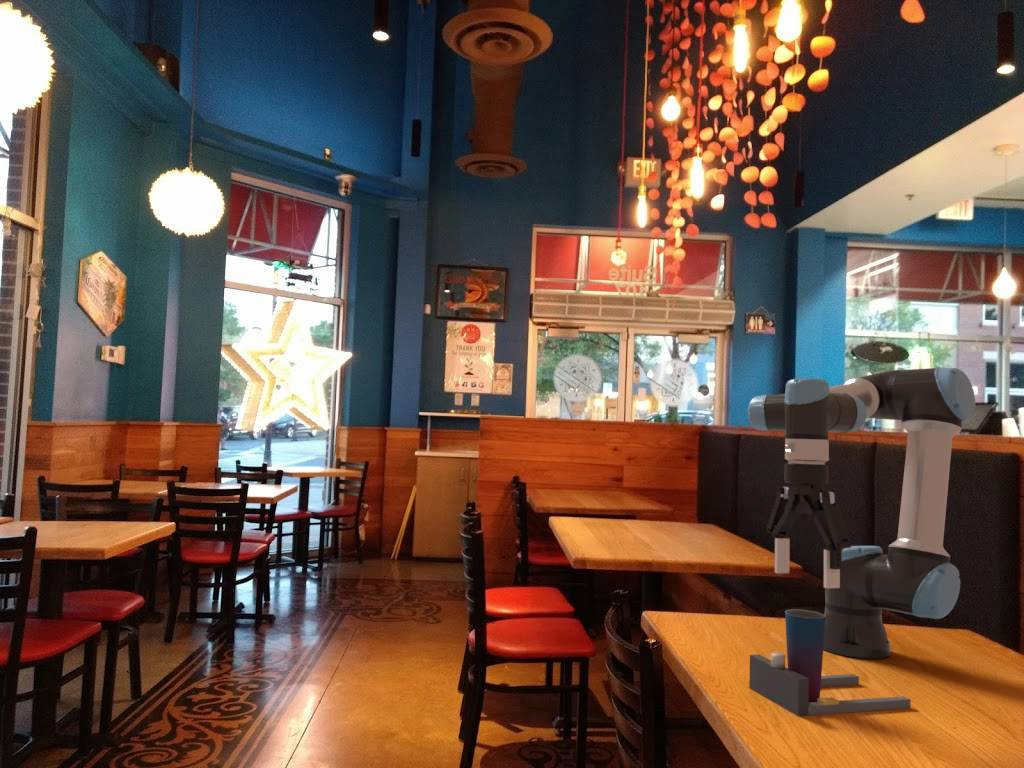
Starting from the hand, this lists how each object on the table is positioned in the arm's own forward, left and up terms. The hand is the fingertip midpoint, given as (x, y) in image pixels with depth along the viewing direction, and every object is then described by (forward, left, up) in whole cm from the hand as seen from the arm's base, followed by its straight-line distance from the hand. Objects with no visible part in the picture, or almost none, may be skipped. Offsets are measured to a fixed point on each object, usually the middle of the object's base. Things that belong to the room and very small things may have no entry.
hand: (805, 580), depth 134 cm
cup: (+1, +1, -21) cm, 21 cm away
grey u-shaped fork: (-4, +1, -21) cm, 21 cm away
